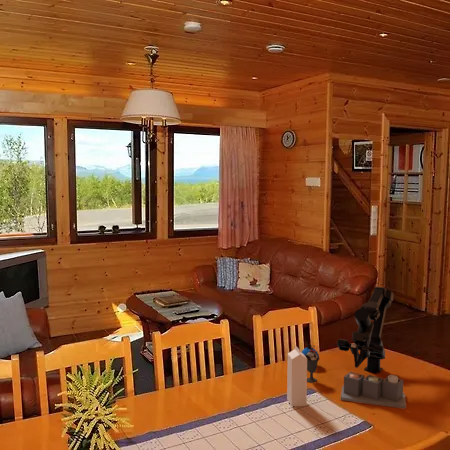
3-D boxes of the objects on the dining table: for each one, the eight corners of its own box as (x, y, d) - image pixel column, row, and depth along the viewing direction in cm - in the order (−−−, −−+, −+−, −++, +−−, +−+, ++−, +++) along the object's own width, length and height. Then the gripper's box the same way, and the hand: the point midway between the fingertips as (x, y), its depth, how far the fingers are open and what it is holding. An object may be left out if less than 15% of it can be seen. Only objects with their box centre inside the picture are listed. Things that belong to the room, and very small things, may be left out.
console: (342, 388, 199) (343, 369, 198) (404, 396, 191) (405, 376, 191) (340, 400, 188) (341, 380, 187) (405, 408, 181) (406, 388, 180)
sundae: (318, 377, 209) (319, 344, 208) (319, 384, 203) (320, 349, 201) (303, 376, 210) (303, 343, 208) (304, 383, 203) (304, 349, 202)
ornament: (319, 363, 226) (320, 342, 225) (317, 370, 217) (317, 348, 216) (301, 361, 228) (301, 340, 227) (298, 367, 220) (298, 346, 219)
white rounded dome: (389, 383, 190) (390, 374, 189) (399, 386, 188) (399, 376, 187) (386, 387, 187) (386, 377, 187) (395, 389, 185) (395, 379, 184)
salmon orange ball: (351, 382, 194) (352, 372, 194) (360, 384, 192) (360, 375, 192) (347, 385, 192) (347, 375, 191) (356, 387, 189) (356, 377, 189)
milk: (301, 399, 189) (302, 344, 187) (306, 406, 183) (307, 350, 181) (286, 400, 188) (287, 345, 186) (291, 407, 182) (292, 350, 180)
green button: (370, 385, 191) (370, 375, 191) (379, 387, 189) (379, 378, 189) (366, 388, 188) (366, 378, 188) (375, 391, 186) (376, 381, 186)
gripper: (338, 319, 201) (329, 353, 192) (384, 326, 191) (376, 363, 183) (344, 332, 208) (335, 366, 200) (388, 340, 198) (381, 375, 190)
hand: (356, 367), depth 193 cm, fingers closed
